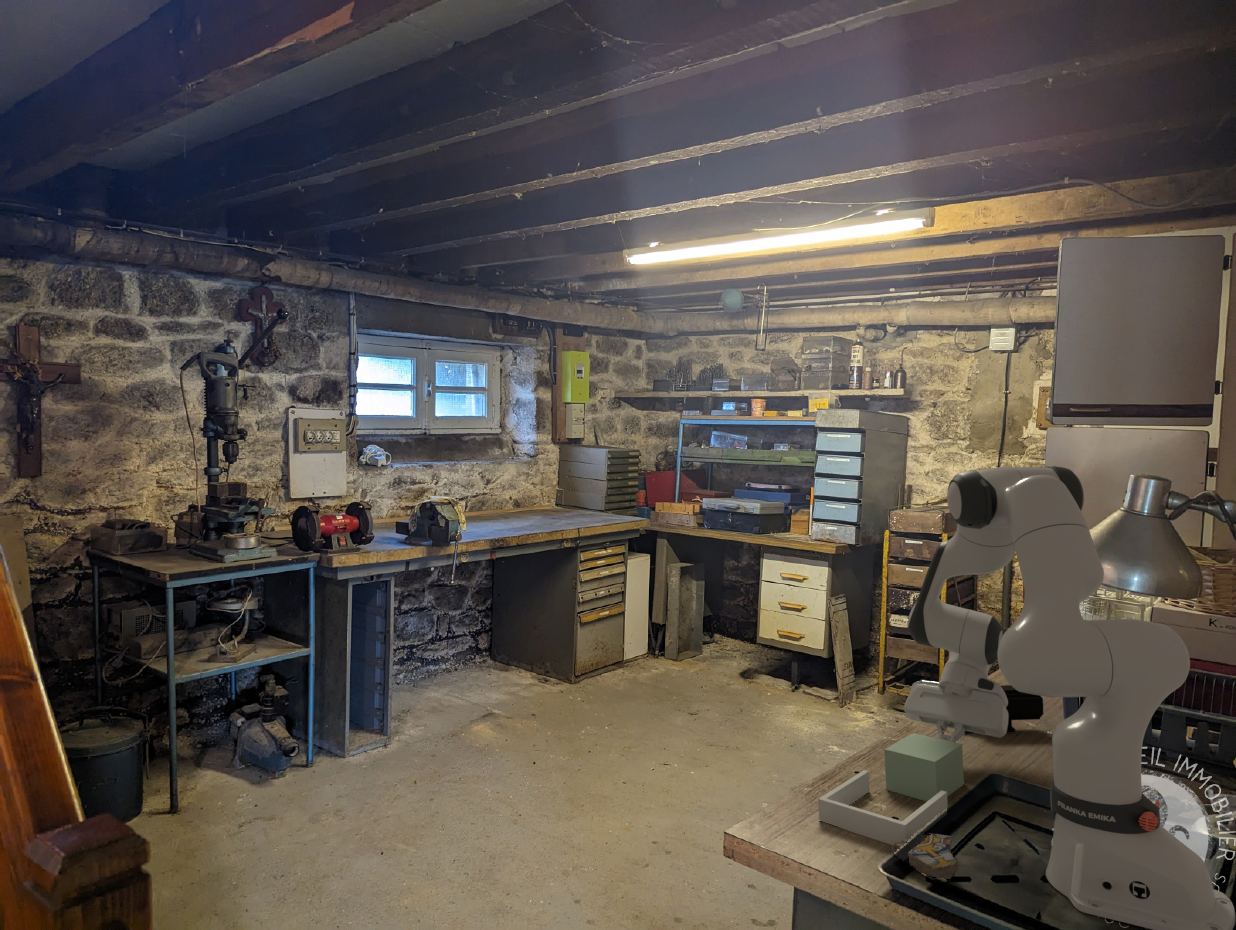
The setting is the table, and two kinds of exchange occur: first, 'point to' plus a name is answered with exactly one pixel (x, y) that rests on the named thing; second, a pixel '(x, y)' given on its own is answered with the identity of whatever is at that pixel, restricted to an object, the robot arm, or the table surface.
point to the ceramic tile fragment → (931, 856)
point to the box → (872, 824)
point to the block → (923, 766)
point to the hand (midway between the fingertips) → (945, 745)
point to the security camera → (1021, 706)
